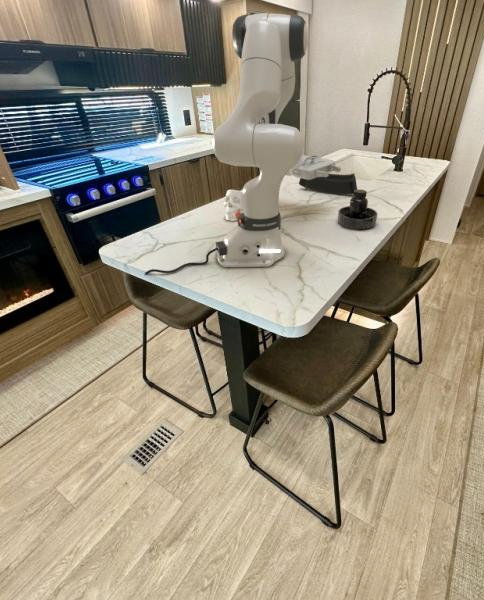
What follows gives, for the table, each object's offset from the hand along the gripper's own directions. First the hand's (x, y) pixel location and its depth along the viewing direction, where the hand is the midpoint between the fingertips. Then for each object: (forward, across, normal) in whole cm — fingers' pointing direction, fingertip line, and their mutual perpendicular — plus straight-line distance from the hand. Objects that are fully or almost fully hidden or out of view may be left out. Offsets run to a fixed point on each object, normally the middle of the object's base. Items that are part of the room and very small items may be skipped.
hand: (334, 172), depth 126 cm
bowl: (+12, 0, +18) cm, 22 cm away
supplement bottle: (+12, 0, +18) cm, 21 cm away
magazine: (-18, +28, +18) cm, 38 cm away
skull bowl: (-33, -21, +18) cm, 44 cm away
